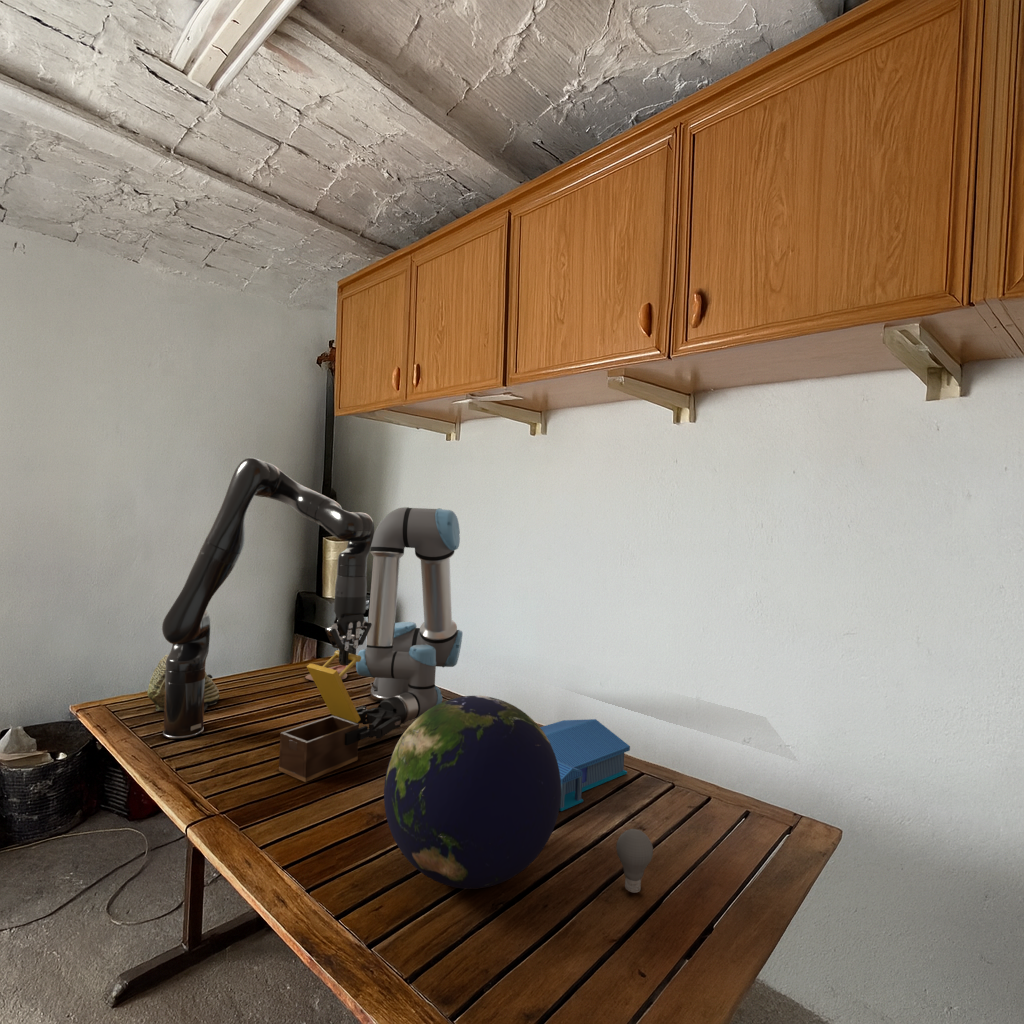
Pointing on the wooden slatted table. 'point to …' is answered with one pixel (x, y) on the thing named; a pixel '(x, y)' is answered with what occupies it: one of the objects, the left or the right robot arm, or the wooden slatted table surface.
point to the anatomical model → (338, 668)
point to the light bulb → (634, 857)
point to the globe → (472, 792)
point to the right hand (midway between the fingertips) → (331, 734)
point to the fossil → (158, 687)
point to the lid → (335, 688)
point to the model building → (584, 756)
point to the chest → (317, 748)
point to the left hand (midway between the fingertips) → (347, 664)
